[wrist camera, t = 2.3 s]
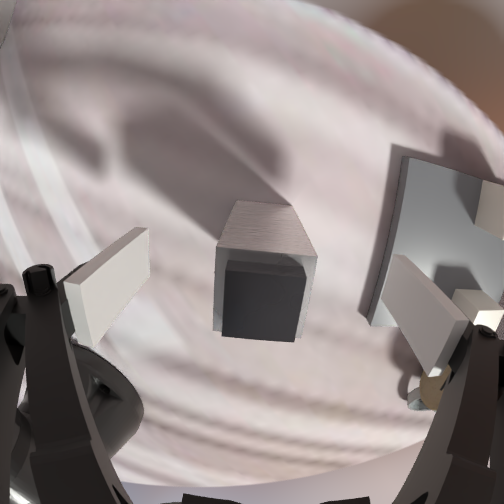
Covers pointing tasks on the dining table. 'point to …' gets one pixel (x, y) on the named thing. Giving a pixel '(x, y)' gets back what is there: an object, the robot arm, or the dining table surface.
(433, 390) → the ceramic mug
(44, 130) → the dining table surface
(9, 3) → the lumpy-topped squat cylinder
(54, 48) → the dining table surface
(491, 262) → the board
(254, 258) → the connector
